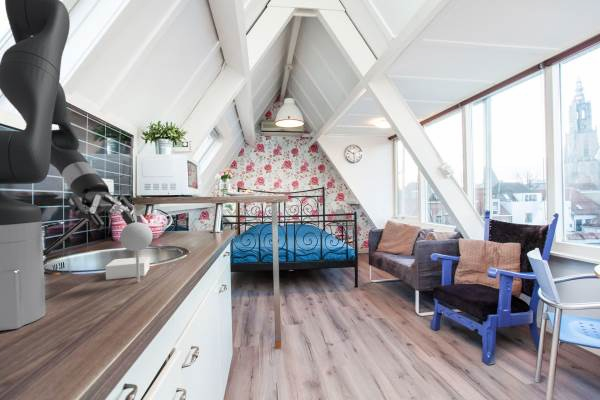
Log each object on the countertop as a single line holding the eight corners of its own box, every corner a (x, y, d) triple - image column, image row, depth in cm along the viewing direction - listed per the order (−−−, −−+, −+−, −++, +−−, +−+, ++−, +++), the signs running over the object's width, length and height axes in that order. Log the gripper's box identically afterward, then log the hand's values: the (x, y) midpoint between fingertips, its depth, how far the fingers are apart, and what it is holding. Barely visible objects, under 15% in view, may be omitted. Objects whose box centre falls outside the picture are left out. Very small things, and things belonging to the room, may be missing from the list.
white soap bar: (144, 275, 81) (144, 263, 81) (106, 279, 79) (105, 266, 78) (149, 268, 90) (149, 256, 90) (114, 271, 87) (114, 259, 87)
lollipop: (125, 279, 78) (123, 221, 78) (156, 277, 80) (154, 220, 80) (118, 288, 71) (116, 224, 71) (151, 284, 73) (149, 222, 73)
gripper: (62, 170, 74) (97, 218, 70) (116, 173, 87) (148, 213, 83) (49, 192, 76) (82, 240, 72) (104, 192, 89) (134, 232, 85)
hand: (117, 225), depth 78 cm, fingers open, 8 cm apart
